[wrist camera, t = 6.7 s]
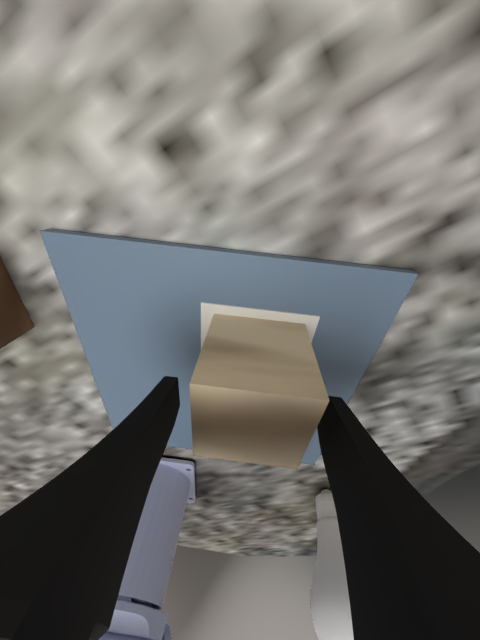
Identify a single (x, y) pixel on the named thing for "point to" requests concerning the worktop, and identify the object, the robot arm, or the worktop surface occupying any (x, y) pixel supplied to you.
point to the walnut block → (11, 310)
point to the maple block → (256, 392)
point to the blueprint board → (212, 312)
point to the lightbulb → (330, 577)
